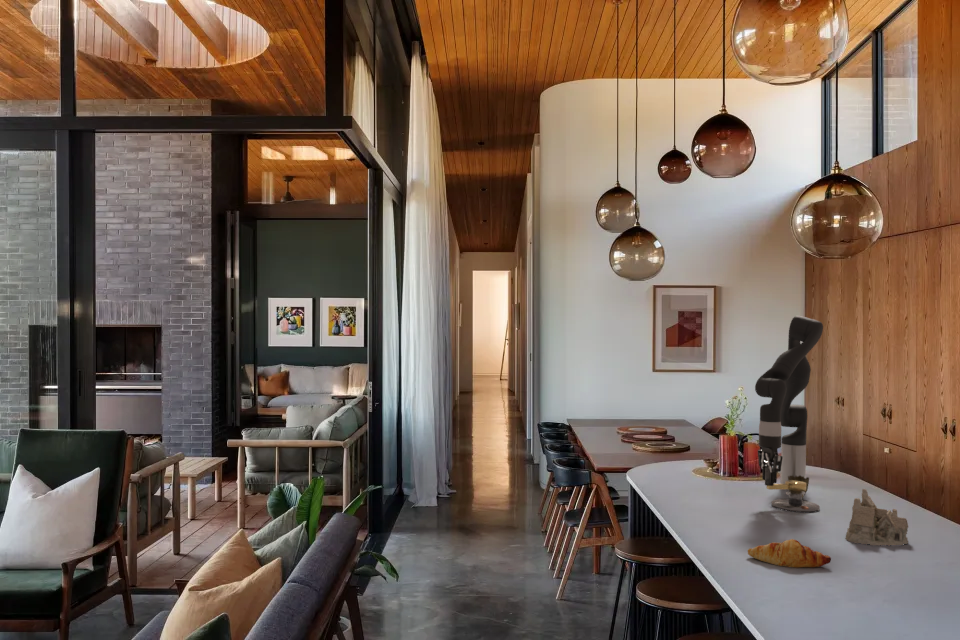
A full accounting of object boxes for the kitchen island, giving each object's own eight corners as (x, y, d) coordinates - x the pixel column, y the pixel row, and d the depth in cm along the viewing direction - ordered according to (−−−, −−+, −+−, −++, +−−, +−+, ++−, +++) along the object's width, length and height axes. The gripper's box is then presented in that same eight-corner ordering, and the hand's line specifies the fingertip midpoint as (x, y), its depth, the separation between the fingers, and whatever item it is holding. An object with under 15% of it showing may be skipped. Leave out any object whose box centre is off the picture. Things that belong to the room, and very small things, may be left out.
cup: (813, 499, 286) (813, 478, 286) (798, 500, 283) (798, 479, 283) (798, 495, 293) (798, 474, 293) (783, 496, 290) (783, 475, 290)
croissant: (747, 573, 209) (746, 551, 206) (748, 547, 217) (747, 526, 214) (831, 582, 201) (832, 559, 198) (829, 555, 210) (829, 533, 206)
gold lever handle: (799, 487, 277) (799, 466, 277) (810, 491, 270) (810, 469, 270) (760, 487, 275) (760, 466, 275) (770, 491, 268) (770, 470, 268)
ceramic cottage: (837, 538, 232) (842, 489, 232) (860, 531, 243) (865, 485, 243) (891, 554, 220) (897, 502, 220) (913, 546, 231) (918, 497, 231)
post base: (763, 502, 280) (763, 485, 280) (804, 501, 282) (804, 485, 282) (785, 512, 264) (786, 495, 264) (828, 512, 266) (829, 495, 266)
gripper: (790, 436, 265) (789, 485, 265) (770, 431, 280) (769, 477, 279) (770, 436, 264) (769, 485, 264) (750, 431, 279) (750, 477, 279)
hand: (769, 481), depth 272 cm, fingers open, 5 cm apart
